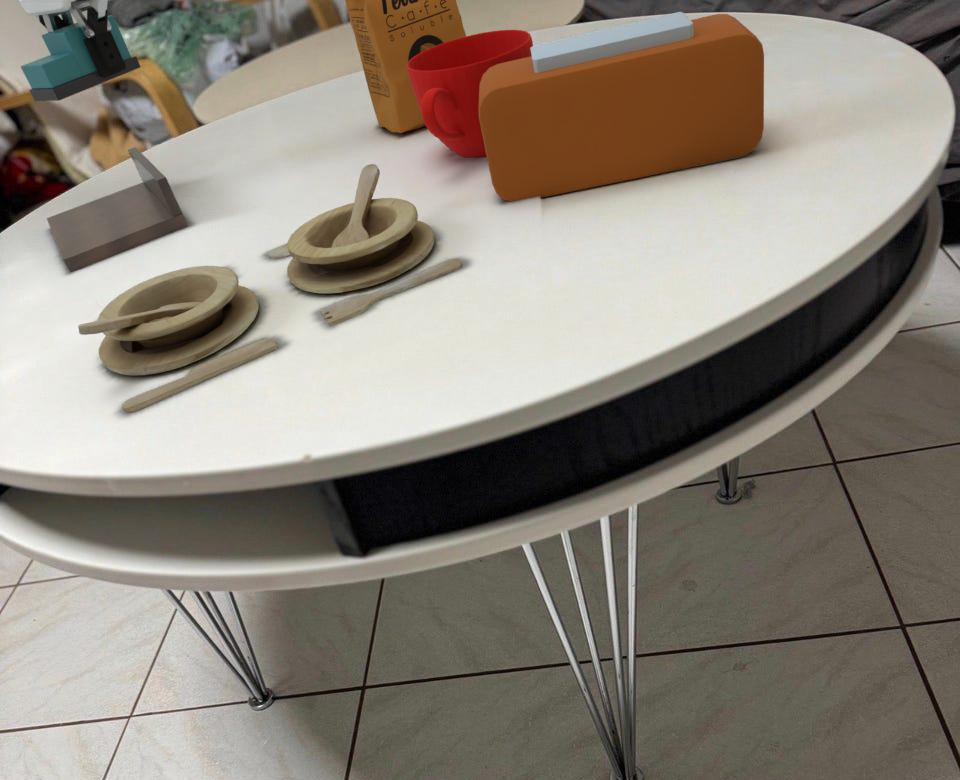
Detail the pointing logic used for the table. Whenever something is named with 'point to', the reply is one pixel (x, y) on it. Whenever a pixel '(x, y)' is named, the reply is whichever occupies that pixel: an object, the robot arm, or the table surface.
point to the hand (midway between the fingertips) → (98, 72)
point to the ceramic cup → (461, 84)
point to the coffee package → (399, 50)
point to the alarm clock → (622, 105)
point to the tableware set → (232, 308)
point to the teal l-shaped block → (71, 64)
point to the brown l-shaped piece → (118, 219)
